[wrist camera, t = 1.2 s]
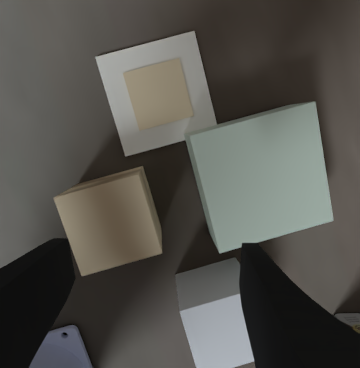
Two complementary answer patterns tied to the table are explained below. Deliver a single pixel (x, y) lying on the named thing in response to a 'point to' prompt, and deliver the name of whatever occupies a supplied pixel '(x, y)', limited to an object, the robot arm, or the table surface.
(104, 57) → the card
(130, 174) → the maple cube
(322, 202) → the base block
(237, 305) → the grey cube
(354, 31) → the table surface
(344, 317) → the coffee box
